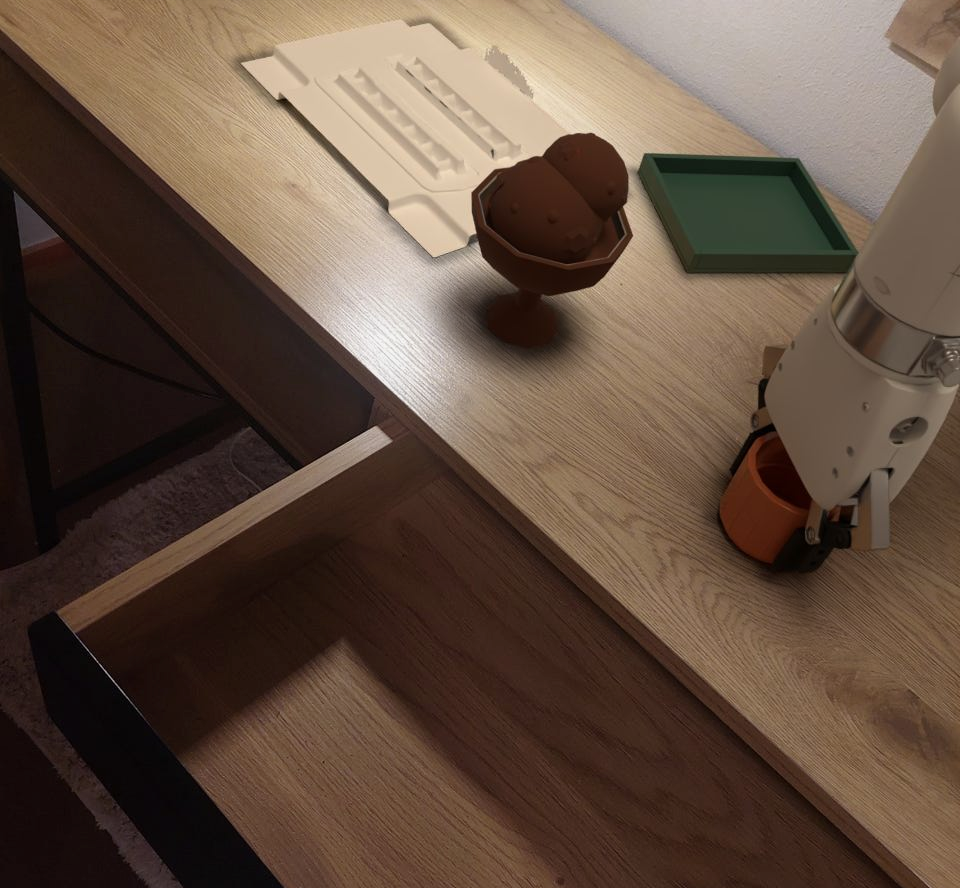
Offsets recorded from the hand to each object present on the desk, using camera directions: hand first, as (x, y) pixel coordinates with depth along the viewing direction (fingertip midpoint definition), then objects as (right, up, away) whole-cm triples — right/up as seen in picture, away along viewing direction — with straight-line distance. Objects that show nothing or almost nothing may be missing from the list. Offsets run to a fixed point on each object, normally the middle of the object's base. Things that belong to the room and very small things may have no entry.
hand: (772, 518), depth 70 cm
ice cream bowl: (-16, +15, +8) cm, 23 cm away
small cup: (0, -1, +1) cm, 1 cm away
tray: (-23, +34, +21) cm, 46 cm away
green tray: (+3, +26, +21) cm, 34 cm away
